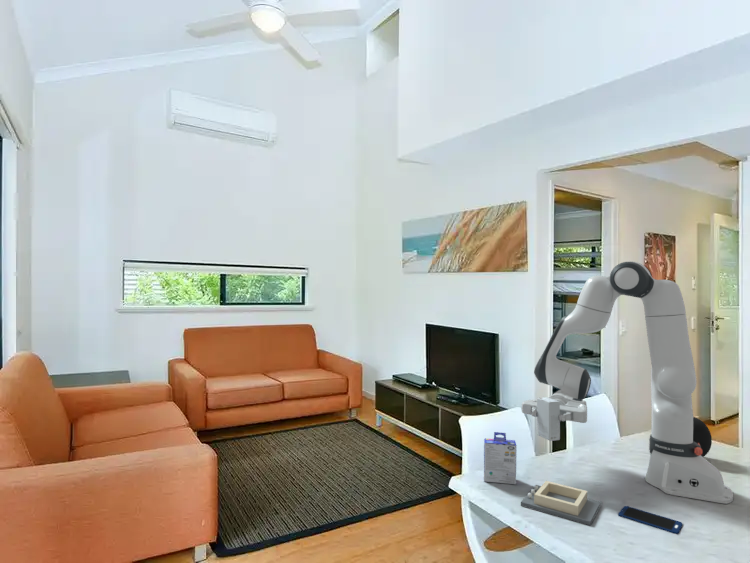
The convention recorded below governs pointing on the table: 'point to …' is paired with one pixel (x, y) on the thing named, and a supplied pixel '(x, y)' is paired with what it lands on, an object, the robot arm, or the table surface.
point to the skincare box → (548, 418)
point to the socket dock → (562, 502)
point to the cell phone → (651, 519)
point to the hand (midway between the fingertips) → (547, 416)
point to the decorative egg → (701, 435)
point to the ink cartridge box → (500, 460)
